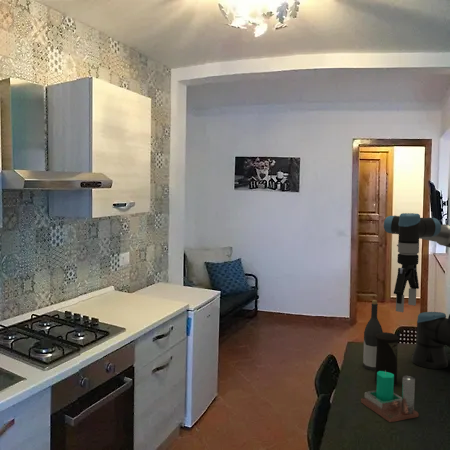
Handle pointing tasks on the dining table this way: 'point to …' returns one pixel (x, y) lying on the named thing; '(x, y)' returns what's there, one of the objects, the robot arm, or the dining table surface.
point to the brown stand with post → (394, 402)
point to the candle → (385, 386)
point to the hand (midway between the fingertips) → (406, 308)
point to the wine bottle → (371, 339)
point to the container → (386, 354)
